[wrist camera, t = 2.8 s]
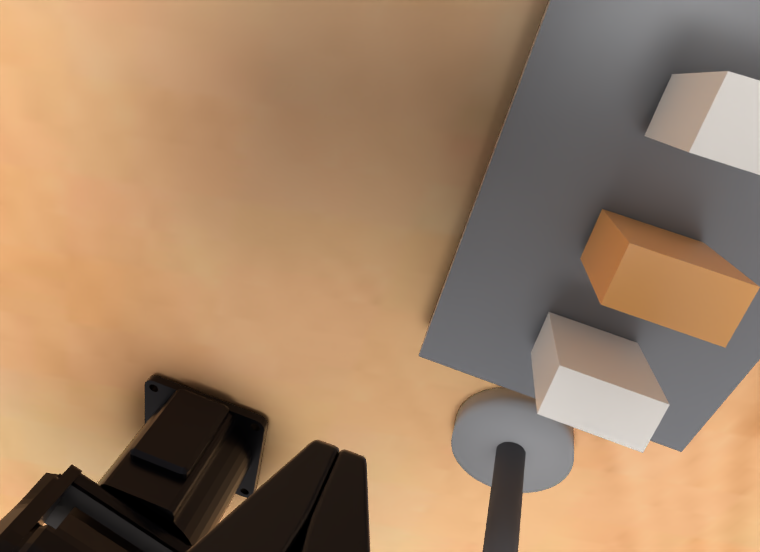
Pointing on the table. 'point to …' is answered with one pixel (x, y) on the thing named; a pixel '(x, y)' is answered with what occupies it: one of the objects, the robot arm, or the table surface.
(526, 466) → the stand
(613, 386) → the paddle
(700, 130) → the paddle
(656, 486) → the table surface
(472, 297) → the panel
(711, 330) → the orange rectangular block
